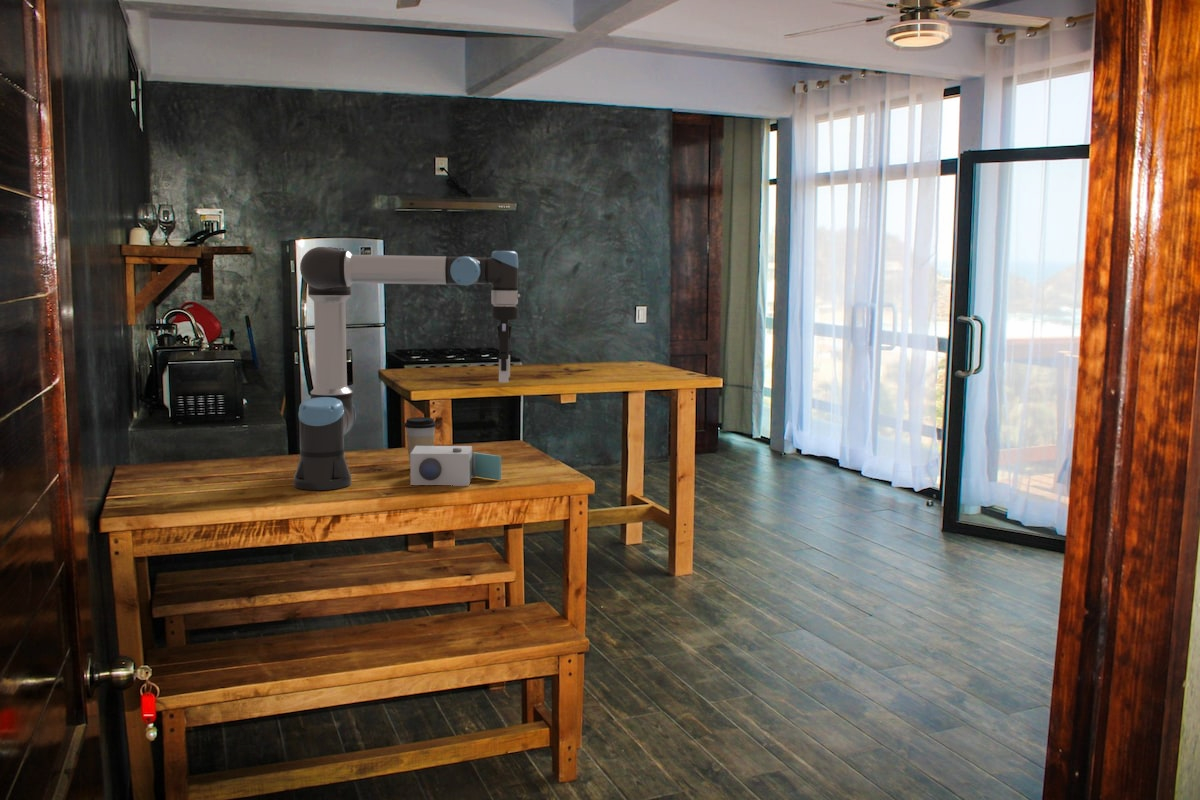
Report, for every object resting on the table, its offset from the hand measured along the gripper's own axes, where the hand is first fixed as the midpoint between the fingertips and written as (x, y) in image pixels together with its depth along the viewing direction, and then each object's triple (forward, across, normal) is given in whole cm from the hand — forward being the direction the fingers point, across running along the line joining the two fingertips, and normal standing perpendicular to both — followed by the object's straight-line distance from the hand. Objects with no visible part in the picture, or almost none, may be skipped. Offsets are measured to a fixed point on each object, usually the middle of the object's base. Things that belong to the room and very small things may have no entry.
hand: (504, 379), depth 283 cm
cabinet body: (+28, -8, +17) cm, 34 cm away
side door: (+28, -5, +5) cm, 29 cm away
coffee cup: (+28, +9, +25) cm, 39 cm away
